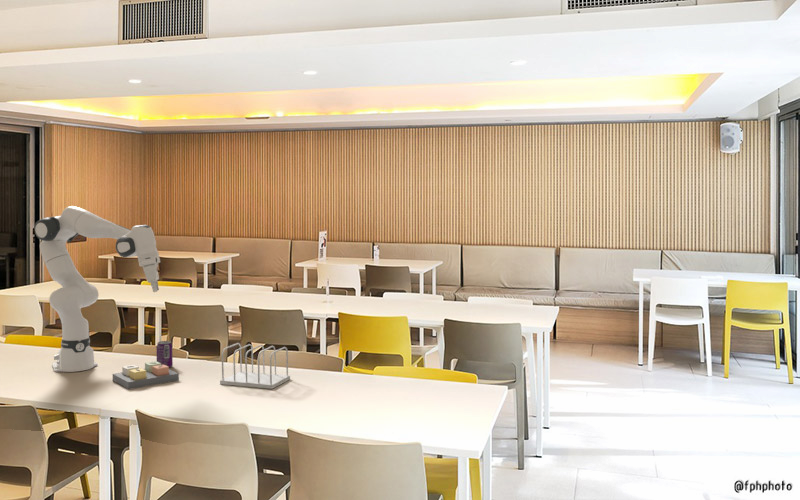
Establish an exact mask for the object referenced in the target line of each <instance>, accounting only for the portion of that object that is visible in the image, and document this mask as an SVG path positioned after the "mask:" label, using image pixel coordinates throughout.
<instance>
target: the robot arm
mask: <svg viewBox="0 0 800 500" xmlns="http://www.w3.org/2000/svg"><path fill="white" fill-rule="evenodd" d="M33 231H34V234H35V236H36V237H37V239H39V240H41V242H40V243H39V251H40V254H41V258H42V260H43V262H44V265H45V267H46V270H47V271H48V273H49V276H50V278H51V279H52V280H53V281H54V282H55V283H58V284H59V285H60V286H61V287H60V288H57V289H56V290H53V292H51V294H50V296H49V297H48V298H49V299H48V300H49V305H50V307H51V308H52V309H53V310H55V312H56V313H57V315H58V317H59V319H60V323H61V329H62V330H61V331H62V333H61V334H62V338H61V342H60V344H61V345H60V349H59V350H58V352H57V353H56V354H55V355H54V356H53V357H54V358H53V360H54V361H56V362H52V364H51V366H52V369H53V371H54V372H55V373H56V372H64V373H65V372H66V373H70V372H71V373H72V372H73V373H74V372H81V371H87V370H91V369H93V368H95V367H97V366H98V362H95V354H94V348H92V347H91V346H90V345H91V338H90V336H89V335H90V333H89V332H90V331H89V328H90V327H89V321H88V319H86V318H85V317H84V316H83V313H82V308H86V307H90V306H91V305H93V304H95V303H96V302H97V301H98V299H99V291H98V289H97V287H96V286H95V285H93V284H91V283H90V282H88V281H87V280H86V279H85V278H84V277H83V275H81V273H80V272H79V270H78V269H77V268H76V265H75V264H74V261H73V259H72V258H71V255H70V253H69V251H68V249H67V242H68V243H69V242H71V243H72V242H73V240H74V239H75V238H76V237H78V236H79V235H80V236H83V237H84V238H89V239H105V238H108V239H115V240H116V242H115V251H116V253H117V254H118V255H119V256H120V257H122V258H132V257H133V258H134V257H137V261H138V265H139V267H142V269H143V273H144V276H145V278H146V281H147V282H148V283H150V285H151V288H152V292H153V293H156V292H158V291H159V290H160V289H159V282H158V280H160V275H159V272H158V268H159V264H160V263H161V258H160V254H159V250H158V248H157V240H156V236H155V233H154V231H153V228H152V227H151V225H147V224H138V225H134V226H132V227H131V229H129V228H127V227H124V226H122V225H120V224H117V223H115V222H113V221H110V220H107V219H105V218H103V217H101V216H99V215H97V214H95V213H92V212H91V211H90V210H86V209H84V208H82V207H77V206H74V205H71V206H66V207H65V208H64V209H63V210H62V212H61V215H55V216H50V217H44V218H41V219H39V220H37V221H36V222H35V224H34V229H33Z"/></svg>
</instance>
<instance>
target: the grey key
mask: <svg viewBox="0 0 800 500" xmlns="http://www.w3.org/2000/svg"><path fill="white" fill-rule="evenodd" d="M133 369H140V367H139V366H138V365H136V364H131V365H130V364H129V365H125V366H122V370H121V371H122V374H124V375H126V376H130V375H129V370H133Z"/></svg>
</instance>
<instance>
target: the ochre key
mask: <svg viewBox="0 0 800 500" xmlns="http://www.w3.org/2000/svg"><path fill="white" fill-rule="evenodd" d="M144 369H145V368H142V367H139V369H133V370H129V375H130V378H131V379H133V380H137V379H143V378H146V370H144Z"/></svg>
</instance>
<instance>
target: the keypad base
mask: <svg viewBox="0 0 800 500" xmlns="http://www.w3.org/2000/svg"><path fill="white" fill-rule="evenodd" d="M143 369H144V370H145V368H143ZM179 379H180V373H178V372H176V371H174V370H172V369H170V368H169V374H166V375H160V376H156V375H154V374H152V372H148V371H146V378H143V379H137V380H133V379H131V378H130V376H126V375H124V374H122V372H114V373H112V381H113V382H115V383H117V384H118V385H120V386H122V387H124V388H126V389H127V390H131V389H137V388H143V387H149V386H155V385H160V384H165V383H171V382H176V381H179Z"/></svg>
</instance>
